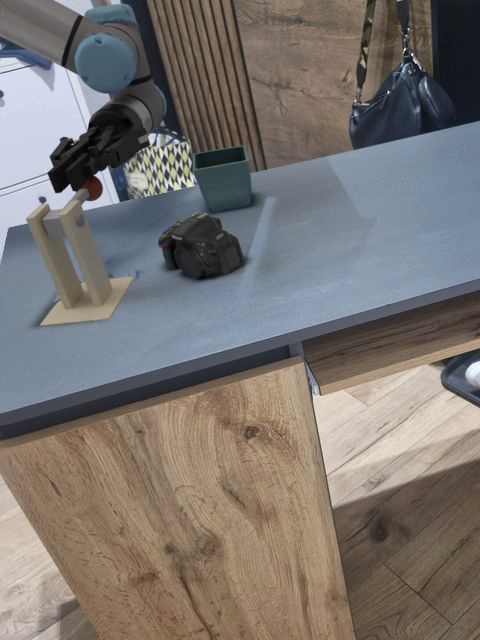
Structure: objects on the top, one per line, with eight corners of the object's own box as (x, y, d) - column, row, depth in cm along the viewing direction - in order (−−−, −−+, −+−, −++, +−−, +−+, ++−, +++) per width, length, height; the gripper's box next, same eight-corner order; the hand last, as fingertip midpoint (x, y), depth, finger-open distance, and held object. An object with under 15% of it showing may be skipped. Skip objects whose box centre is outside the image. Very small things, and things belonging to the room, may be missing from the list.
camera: (155, 287, 87) (136, 229, 82) (182, 258, 94) (166, 203, 89) (233, 288, 84) (218, 228, 79) (255, 258, 91) (242, 201, 86)
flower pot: (260, 213, 105) (249, 159, 100) (206, 223, 104) (192, 169, 99) (255, 195, 112) (245, 143, 107) (205, 204, 111) (192, 153, 106)
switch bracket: (74, 289, 90) (36, 195, 82) (137, 283, 89) (104, 188, 81) (43, 332, 81) (-4, 232, 73) (112, 326, 80) (72, 223, 72)
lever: (85, 196, 89) (75, 171, 87) (110, 193, 89) (101, 168, 87) (45, 243, 78) (33, 215, 76) (74, 239, 78) (63, 212, 76)
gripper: (172, 146, 101) (129, 203, 81) (83, 156, 102) (19, 216, 83) (159, 96, 97) (109, 145, 77) (66, 108, 98) (-6, 159, 78)
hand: (63, 181), depth 80 cm, fingers closed
